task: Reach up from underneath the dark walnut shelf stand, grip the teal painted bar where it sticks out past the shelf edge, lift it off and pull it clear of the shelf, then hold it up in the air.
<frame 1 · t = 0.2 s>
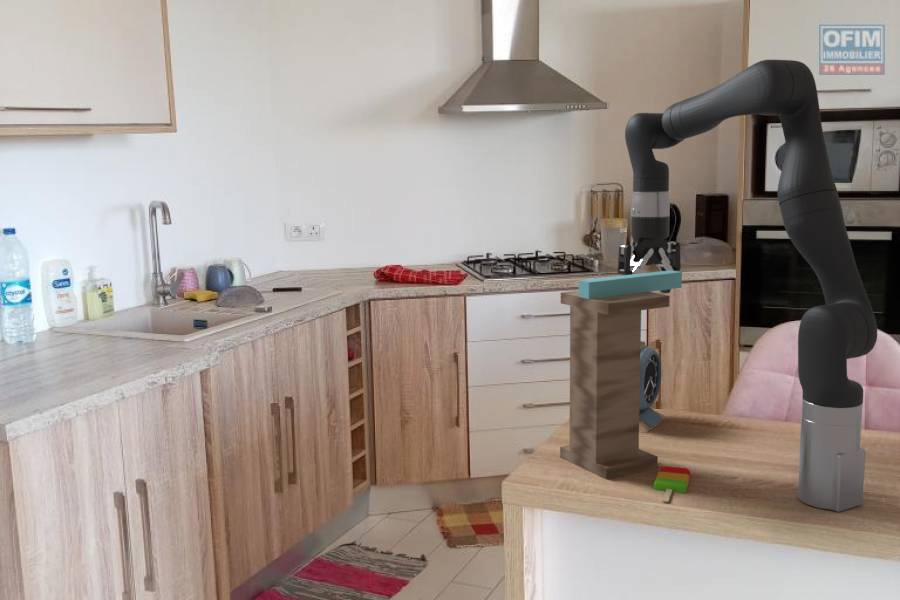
hand: (649, 294, 189), 29 cm above the counter, tool pointing down, fingers open, 8 cm apart
popsicle: (670, 491, 163), on the counter
teal bar: (631, 292, 173), point 32 cm above the counter, touching shelf stand
shelf stand: (612, 460, 177), on the counter
alarm clock: (634, 422, 201), on the counter
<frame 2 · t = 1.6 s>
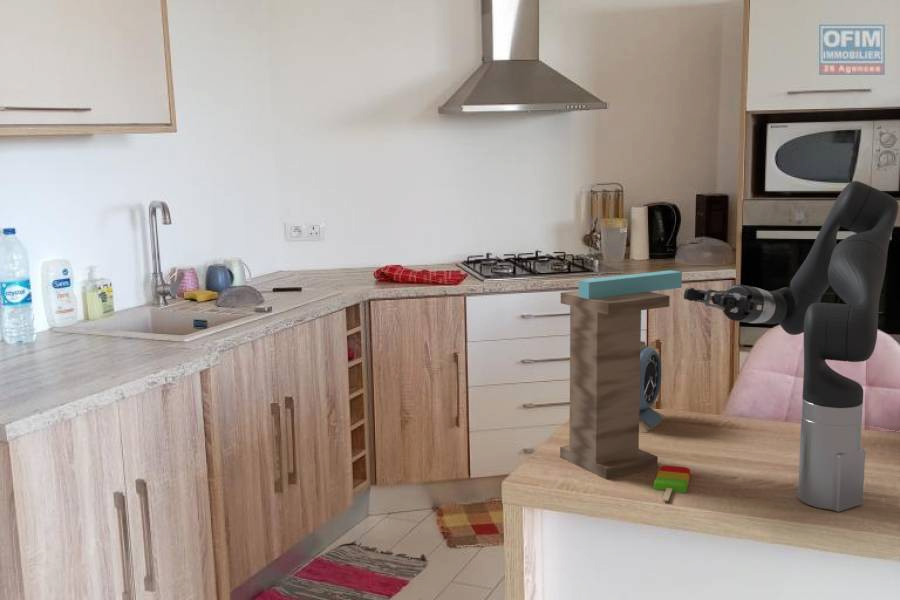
hand: (703, 297, 184), 29 cm above the counter, tool horizontal, fingers open, 8 cm apart
nothing on the counter moved.
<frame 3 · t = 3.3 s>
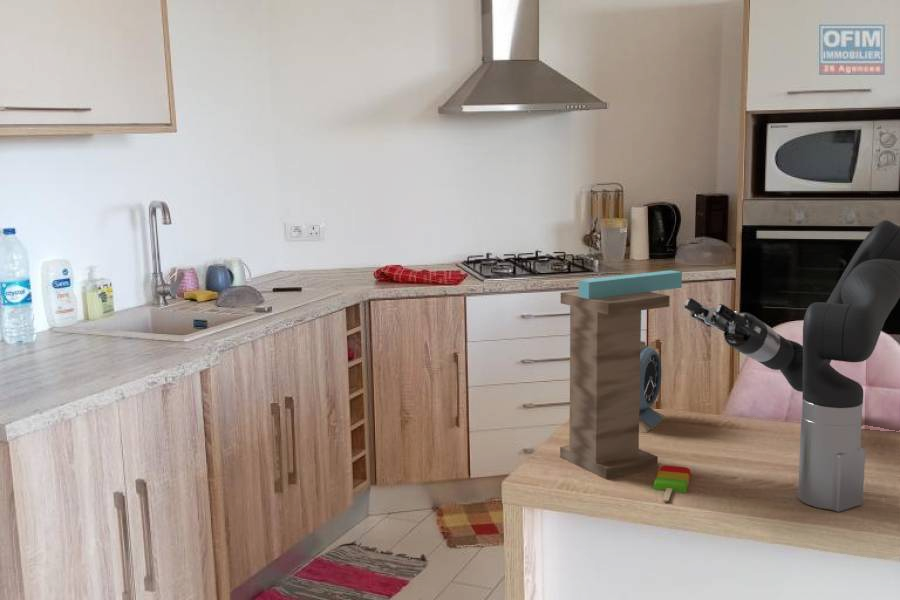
hand: (702, 305, 183), 28 cm above the counter, tool pointing upward, fingers open, 8 cm apart
nothing on the counter moved.
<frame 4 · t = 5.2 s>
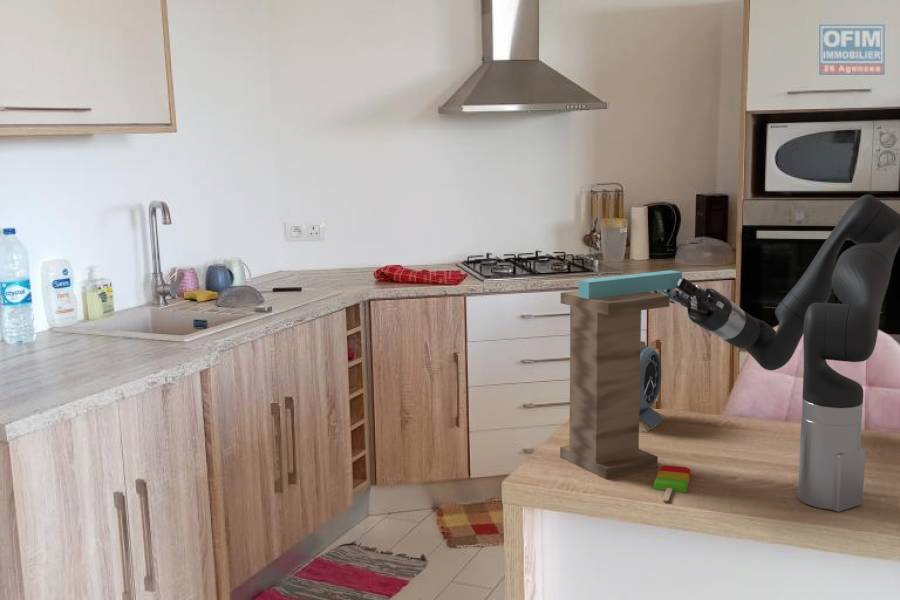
hand: (663, 279, 177), 34 cm above the counter, tool pointing upward, fingers open, 8 cm apart
nothing on the counter moved.
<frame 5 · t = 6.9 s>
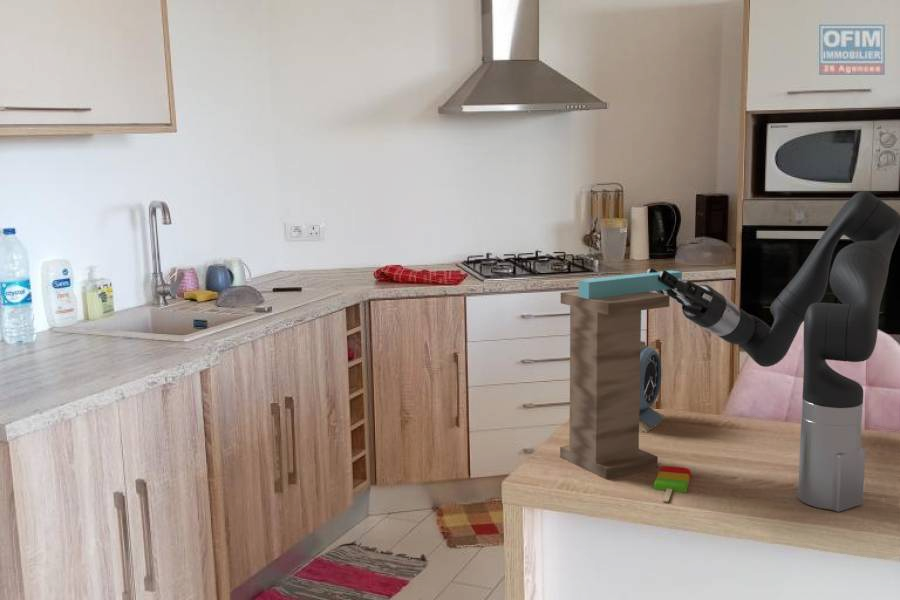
hand: (654, 273, 175), 35 cm above the counter, tool pointing upward, fingers closed on teal bar, 3 cm apart
teal bar: (631, 292, 173), point 32 cm above the counter, touching gripper, shelf stand
everything else where it was.
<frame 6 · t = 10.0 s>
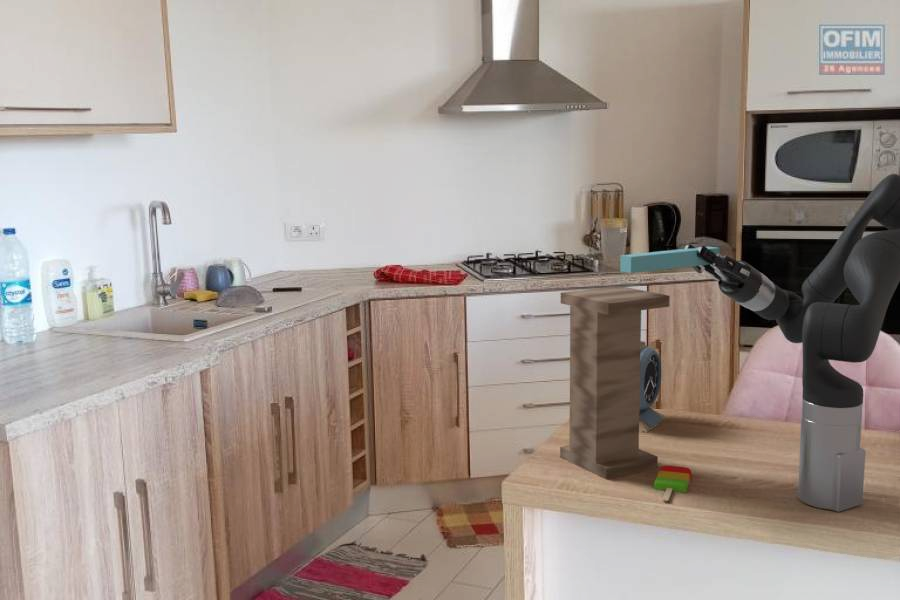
hand: (693, 249, 179), 39 cm above the counter, tool pointing upward, fingers closed on teal bar, 3 cm apart
teal bar: (670, 267, 177), point 36 cm above the counter, touching gripper
everything else where it was.
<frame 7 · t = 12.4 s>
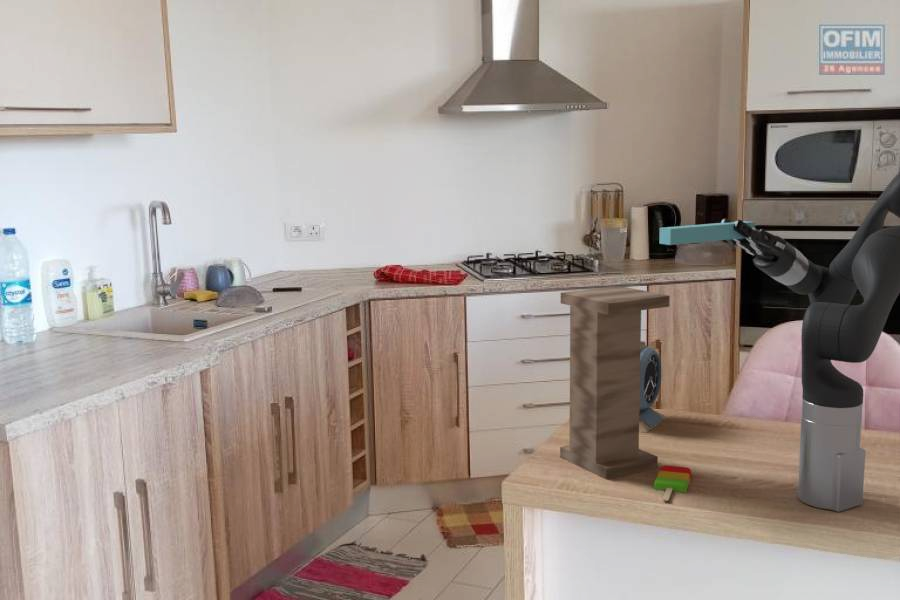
hand: (729, 223, 183), 43 cm above the counter, tool pointing upward, fingers closed on teal bar, 3 cm apart
teal bar: (708, 240, 181), point 40 cm above the counter, touching gripper
everything else where it was.
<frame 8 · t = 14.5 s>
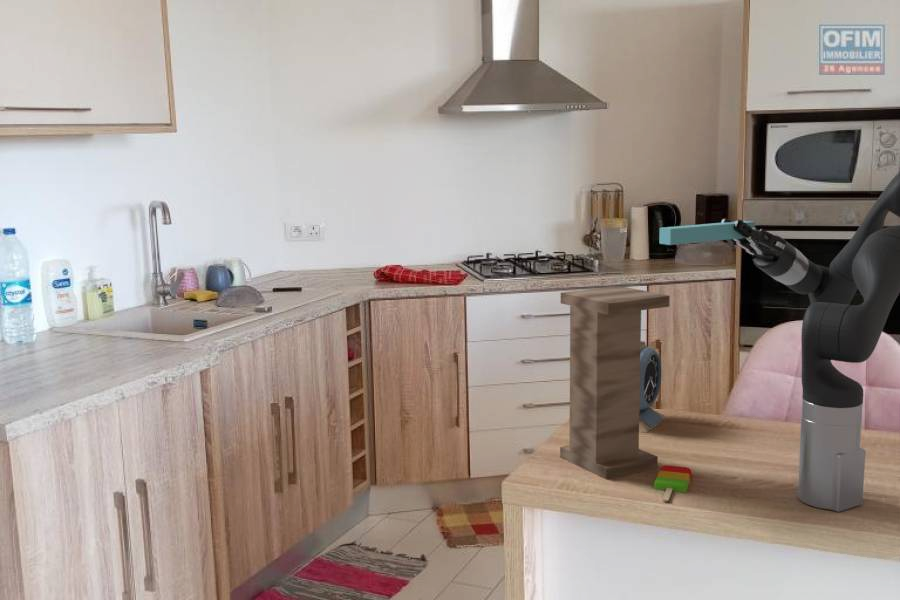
hand: (729, 223, 183), 43 cm above the counter, tool pointing upward, fingers closed on teal bar, 3 cm apart
teal bar: (708, 240, 181), point 40 cm above the counter, touching gripper
everything else where it was.
at the end: the gripper is holding teal bar; teal bar moved 20.7 cm from its start; teal bar touching gripper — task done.
